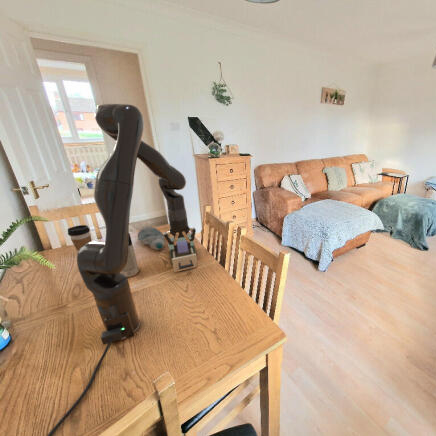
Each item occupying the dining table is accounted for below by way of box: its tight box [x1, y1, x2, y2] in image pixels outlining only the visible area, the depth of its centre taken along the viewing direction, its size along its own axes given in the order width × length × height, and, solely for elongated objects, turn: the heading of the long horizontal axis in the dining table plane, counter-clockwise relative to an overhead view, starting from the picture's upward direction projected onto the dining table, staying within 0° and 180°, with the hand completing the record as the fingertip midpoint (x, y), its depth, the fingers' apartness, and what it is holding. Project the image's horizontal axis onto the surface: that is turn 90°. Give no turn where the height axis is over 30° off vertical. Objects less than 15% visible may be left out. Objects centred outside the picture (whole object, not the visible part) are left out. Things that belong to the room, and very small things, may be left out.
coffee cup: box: [67, 224, 93, 253], centre depth 121 cm, size 8×8×15 cm
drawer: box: [172, 247, 199, 273], centre depth 115 cm, size 17×10×7 cm, turn 29°
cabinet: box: [167, 233, 197, 266], centre depth 124 cm, size 14×12×9 cm
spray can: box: [120, 232, 140, 278], centre depth 106 cm, size 7×7×20 cm
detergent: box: [137, 226, 166, 251], centre depth 134 cm, size 13×7×25 cm
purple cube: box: [177, 240, 188, 253], centre depth 113 cm, size 4×4×4 cm
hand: (182, 249), depth 114 cm, fingers closed on purple cube, 4 cm apart
